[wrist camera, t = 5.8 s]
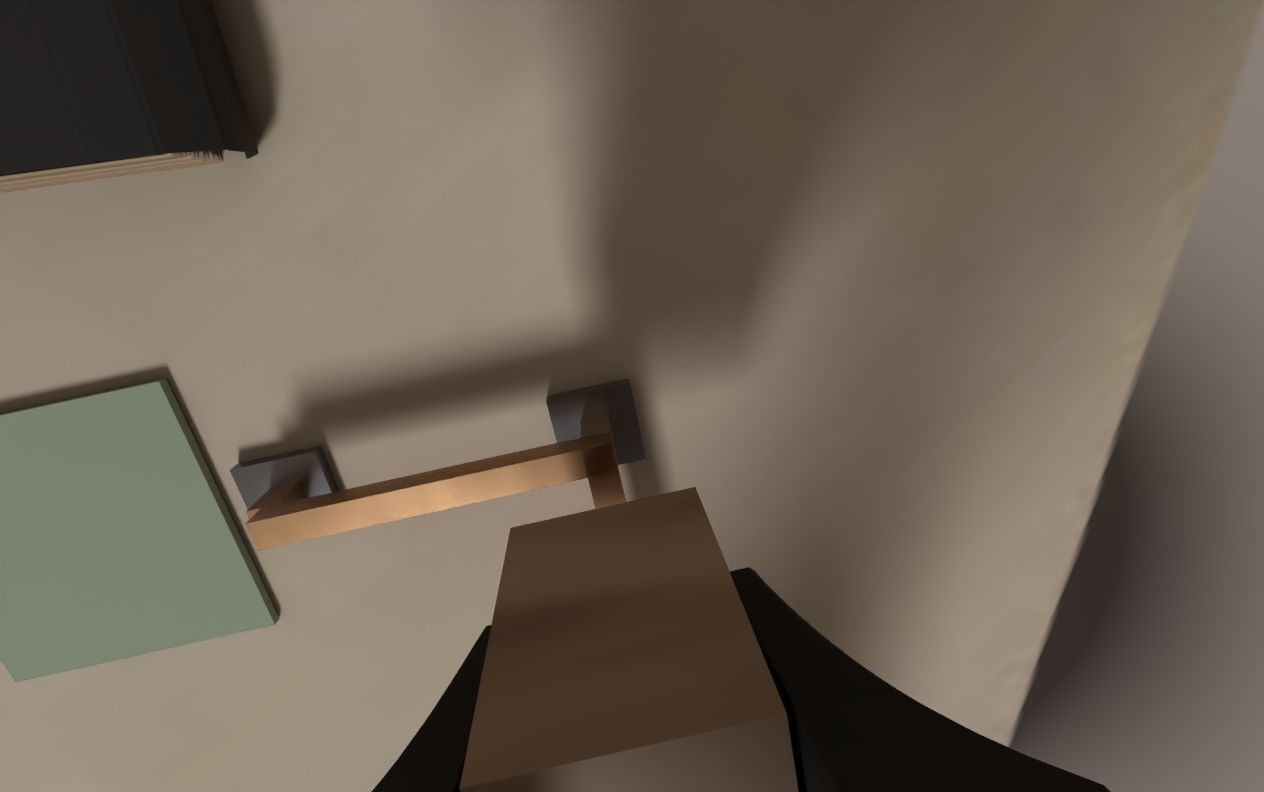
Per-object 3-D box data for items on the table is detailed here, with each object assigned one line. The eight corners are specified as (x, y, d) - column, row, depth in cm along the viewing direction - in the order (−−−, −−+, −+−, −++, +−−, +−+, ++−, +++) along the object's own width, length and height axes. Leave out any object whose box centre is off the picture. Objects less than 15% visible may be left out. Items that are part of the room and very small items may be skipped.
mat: (279, 618, 19) (274, 624, 19) (24, 674, 19) (15, 682, 19) (165, 378, 17) (158, 381, 16) (-131, 441, 16) (-143, 446, 16)
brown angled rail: (681, 627, 21) (694, 683, 18) (346, 702, 20) (315, 769, 18) (628, 378, 18) (636, 407, 15) (237, 464, 17) (184, 506, 15)
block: (723, 637, 14) (819, 928, 9) (555, 674, 14) (541, 994, 9) (694, 487, 13) (786, 713, 7) (510, 527, 13) (459, 788, 7)
